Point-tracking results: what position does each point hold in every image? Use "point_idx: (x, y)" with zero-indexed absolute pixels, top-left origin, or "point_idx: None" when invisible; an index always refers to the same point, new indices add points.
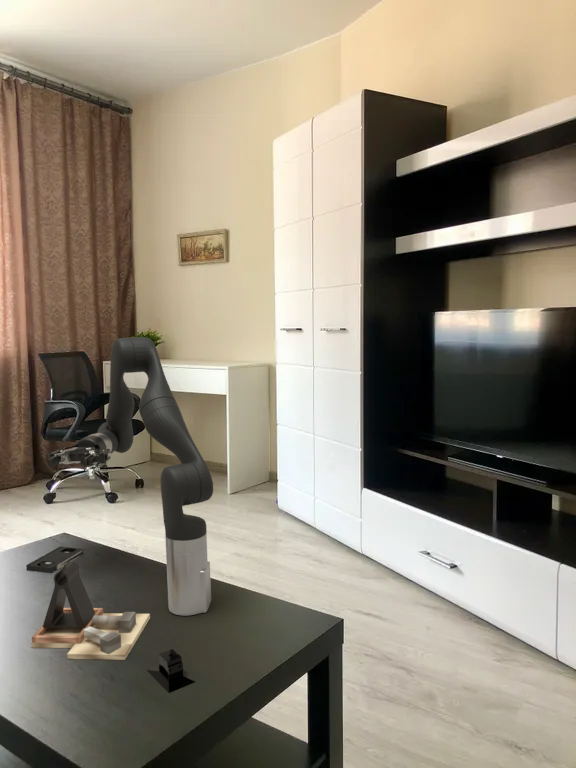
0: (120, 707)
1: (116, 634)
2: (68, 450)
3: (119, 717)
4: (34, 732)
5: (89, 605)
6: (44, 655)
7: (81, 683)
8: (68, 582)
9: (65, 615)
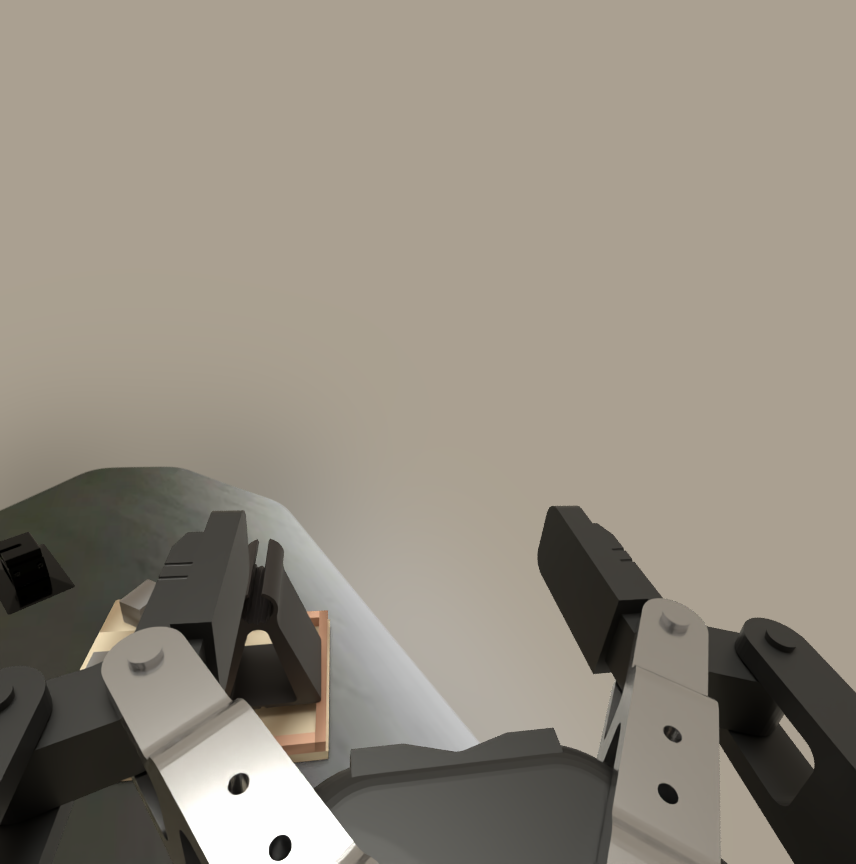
0: (126, 519)
1: (129, 600)
2: (639, 713)
3: (128, 507)
4: (236, 488)
5: None
6: None
7: None
8: None
9: (285, 689)
